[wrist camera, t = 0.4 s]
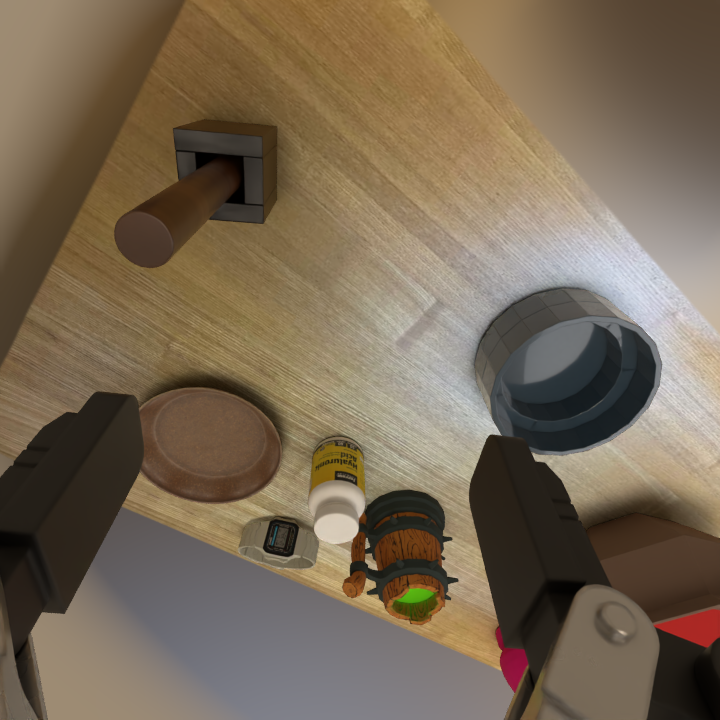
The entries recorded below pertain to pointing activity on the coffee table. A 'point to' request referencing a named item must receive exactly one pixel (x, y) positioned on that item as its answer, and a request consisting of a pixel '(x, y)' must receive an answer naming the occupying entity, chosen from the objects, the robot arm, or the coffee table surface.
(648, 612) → the brown soup pot
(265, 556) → the wristwatch
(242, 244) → the coffee table surface
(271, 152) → the stand
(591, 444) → the bowl
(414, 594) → the mug
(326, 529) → the supplement bottle
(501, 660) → the pepper mill
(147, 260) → the stirring stick
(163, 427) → the saucer
